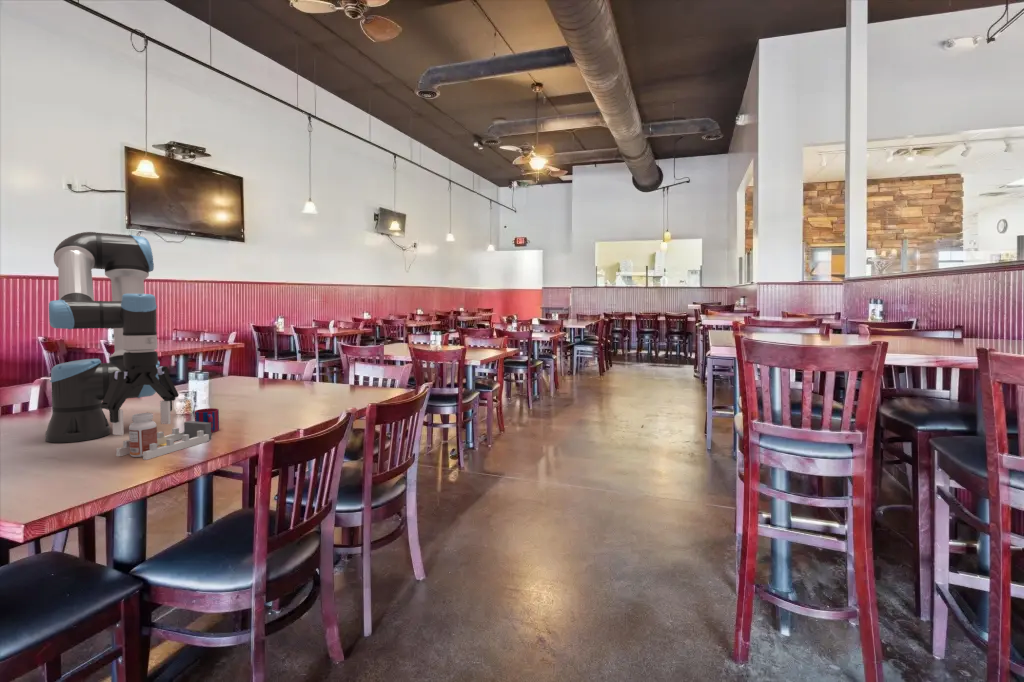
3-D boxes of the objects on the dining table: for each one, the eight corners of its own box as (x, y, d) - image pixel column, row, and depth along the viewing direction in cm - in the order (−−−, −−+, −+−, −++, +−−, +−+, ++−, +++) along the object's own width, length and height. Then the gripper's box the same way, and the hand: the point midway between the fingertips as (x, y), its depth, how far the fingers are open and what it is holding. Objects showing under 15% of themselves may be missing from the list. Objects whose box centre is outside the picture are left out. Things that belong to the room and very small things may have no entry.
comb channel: (116, 456, 139) (115, 437, 138) (187, 436, 160) (186, 420, 160) (146, 459, 136) (146, 441, 136) (214, 439, 157) (214, 423, 157)
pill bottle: (159, 450, 145) (158, 411, 144) (155, 456, 139) (154, 415, 139) (132, 452, 142) (131, 413, 141) (127, 458, 137) (125, 417, 136)
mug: (218, 427, 172) (217, 407, 171) (220, 434, 164) (220, 413, 163) (194, 430, 168) (194, 409, 168) (196, 436, 160) (195, 415, 159)
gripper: (103, 354, 126) (107, 440, 127) (191, 348, 150) (193, 420, 151) (80, 354, 128) (84, 438, 129) (171, 347, 152) (173, 418, 153)
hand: (143, 429), depth 140 cm, fingers open, 13 cm apart
